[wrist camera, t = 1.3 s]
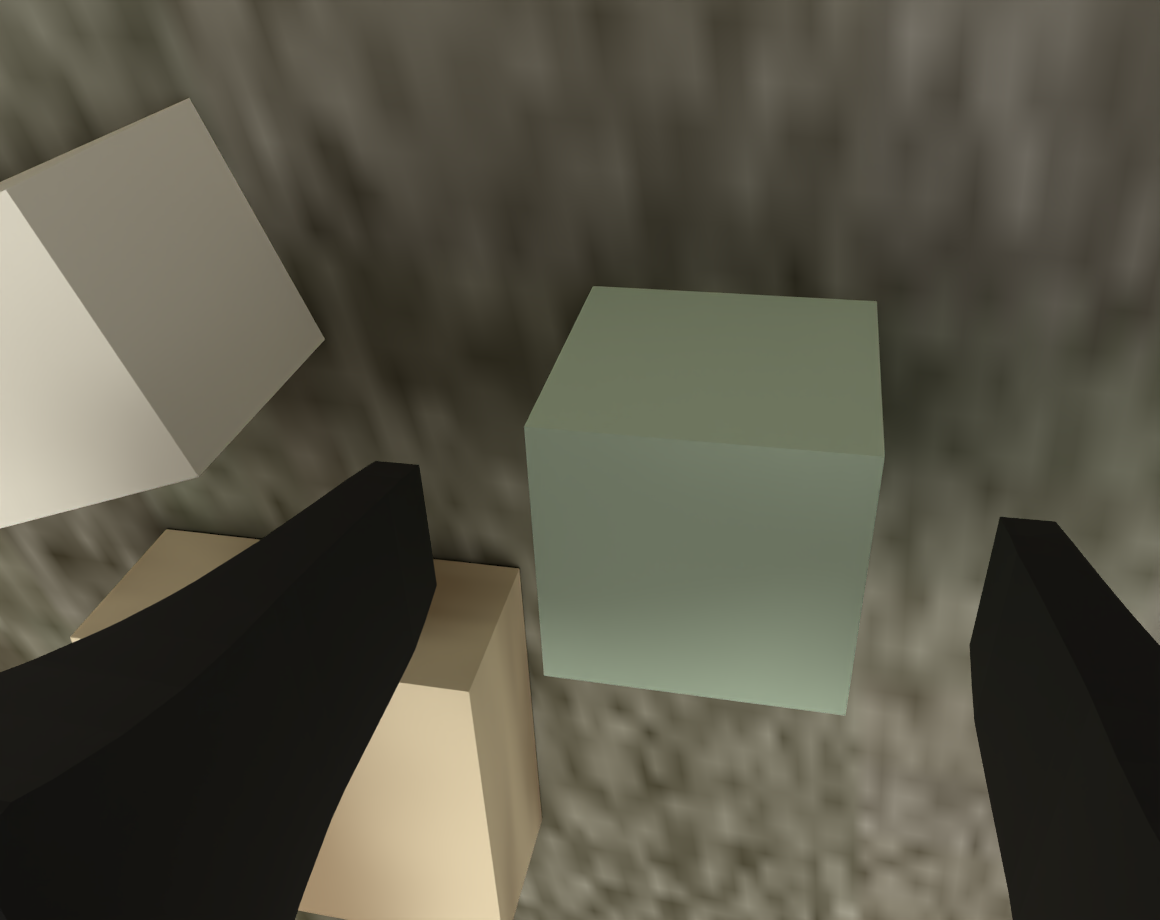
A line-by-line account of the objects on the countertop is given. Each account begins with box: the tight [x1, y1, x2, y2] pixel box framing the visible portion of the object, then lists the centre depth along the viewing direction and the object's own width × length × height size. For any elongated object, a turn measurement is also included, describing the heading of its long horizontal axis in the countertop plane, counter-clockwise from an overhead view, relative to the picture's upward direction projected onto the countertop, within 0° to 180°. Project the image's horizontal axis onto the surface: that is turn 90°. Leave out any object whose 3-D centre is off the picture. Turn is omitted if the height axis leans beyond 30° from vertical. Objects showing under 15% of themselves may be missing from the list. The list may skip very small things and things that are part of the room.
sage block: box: [524, 286, 885, 715], centre depth 14 cm, size 4×4×4 cm
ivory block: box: [0, 98, 325, 528], centre depth 15 cm, size 4×4×4 cm
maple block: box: [70, 529, 542, 920], centre depth 20 cm, size 7×7×3 cm
